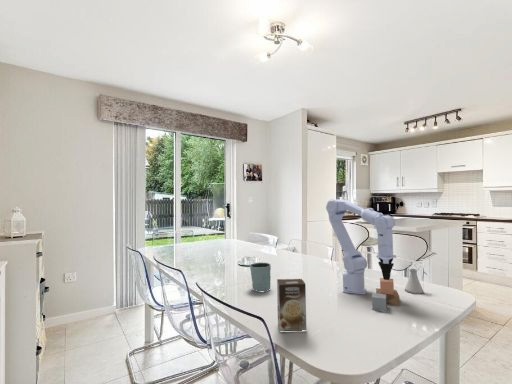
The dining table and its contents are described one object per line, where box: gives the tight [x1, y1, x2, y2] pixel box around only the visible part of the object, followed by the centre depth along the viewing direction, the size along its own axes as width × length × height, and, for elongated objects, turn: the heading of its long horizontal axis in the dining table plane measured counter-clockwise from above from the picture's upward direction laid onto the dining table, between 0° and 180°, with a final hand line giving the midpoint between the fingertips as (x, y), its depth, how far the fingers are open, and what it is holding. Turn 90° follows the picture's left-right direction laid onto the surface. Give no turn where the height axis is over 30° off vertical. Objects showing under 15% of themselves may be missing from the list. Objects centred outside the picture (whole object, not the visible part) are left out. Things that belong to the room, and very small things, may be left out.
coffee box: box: [276, 278, 307, 332], centre depth 96 cm, size 9×6×16 cm
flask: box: [404, 268, 425, 295], centre depth 127 cm, size 7×7×10 cm
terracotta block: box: [379, 277, 395, 295], centre depth 117 cm, size 5×5×5 cm
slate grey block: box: [371, 292, 387, 312], centre depth 110 cm, size 5×5×5 cm
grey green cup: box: [249, 262, 272, 292], centre depth 137 cm, size 10×10×12 cm
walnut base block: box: [375, 288, 401, 306], centre depth 117 cm, size 8×8×4 cm
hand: (386, 277), depth 117 cm, fingers open, 7 cm apart
